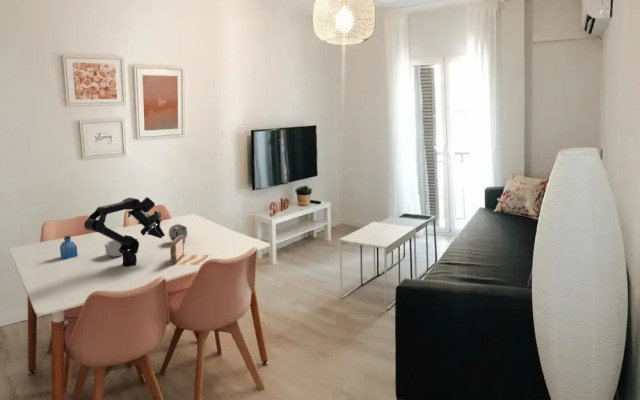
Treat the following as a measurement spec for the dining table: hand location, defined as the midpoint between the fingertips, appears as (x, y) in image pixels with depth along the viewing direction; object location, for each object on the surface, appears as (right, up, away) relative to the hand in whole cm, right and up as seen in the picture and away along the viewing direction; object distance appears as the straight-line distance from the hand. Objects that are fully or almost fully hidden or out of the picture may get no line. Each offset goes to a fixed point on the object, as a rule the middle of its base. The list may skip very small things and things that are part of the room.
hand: (163, 236), depth 267 cm
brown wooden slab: (+7, -13, +2) cm, 15 cm away
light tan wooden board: (+13, -13, +3) cm, 19 cm away
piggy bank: (-2, -7, +37) cm, 37 cm away
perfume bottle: (-56, -12, +9) cm, 58 cm away
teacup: (-31, -11, +13) cm, 35 cm away
